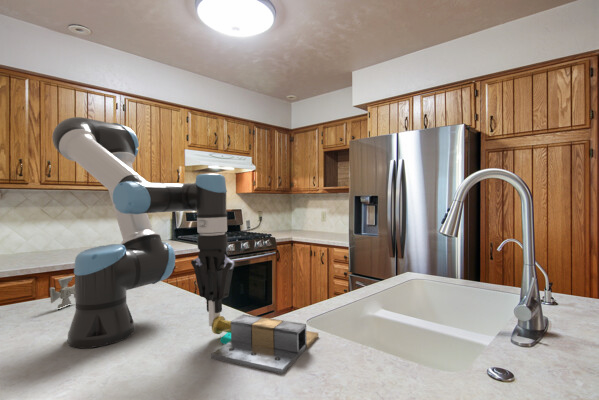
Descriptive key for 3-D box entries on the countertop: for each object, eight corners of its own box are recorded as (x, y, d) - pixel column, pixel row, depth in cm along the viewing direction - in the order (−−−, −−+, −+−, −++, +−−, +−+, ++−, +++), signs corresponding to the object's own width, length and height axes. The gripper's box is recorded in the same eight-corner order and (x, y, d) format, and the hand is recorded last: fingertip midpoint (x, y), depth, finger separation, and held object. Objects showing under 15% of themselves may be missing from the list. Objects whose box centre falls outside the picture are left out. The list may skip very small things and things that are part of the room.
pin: (211, 336, 86) (211, 319, 86) (222, 330, 90) (222, 313, 90) (282, 349, 78) (281, 330, 78) (290, 342, 82) (290, 323, 82)
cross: (54, 312, 109) (53, 281, 109) (47, 312, 110) (46, 281, 110) (81, 303, 119) (81, 274, 119) (75, 302, 120) (75, 274, 120)
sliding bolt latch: (211, 358, 76) (210, 332, 76) (258, 326, 94) (257, 305, 94) (282, 374, 69) (282, 345, 69) (318, 336, 87) (318, 314, 87)
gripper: (182, 234, 87) (185, 326, 87) (224, 235, 82) (226, 333, 82) (202, 231, 94) (204, 316, 94) (241, 232, 89) (244, 322, 89)
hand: (214, 324), depth 88 cm, fingers closed
